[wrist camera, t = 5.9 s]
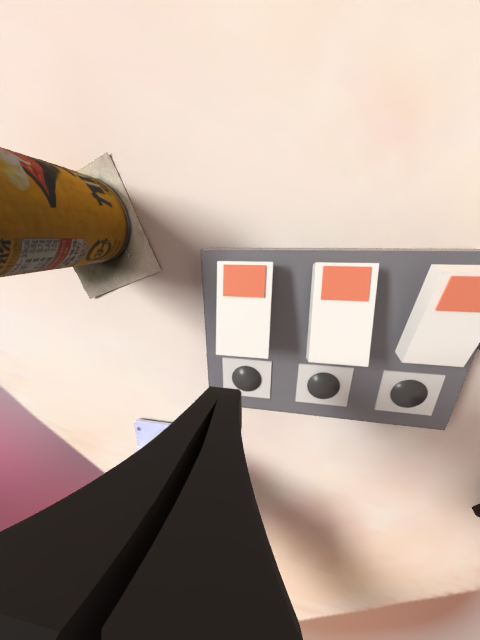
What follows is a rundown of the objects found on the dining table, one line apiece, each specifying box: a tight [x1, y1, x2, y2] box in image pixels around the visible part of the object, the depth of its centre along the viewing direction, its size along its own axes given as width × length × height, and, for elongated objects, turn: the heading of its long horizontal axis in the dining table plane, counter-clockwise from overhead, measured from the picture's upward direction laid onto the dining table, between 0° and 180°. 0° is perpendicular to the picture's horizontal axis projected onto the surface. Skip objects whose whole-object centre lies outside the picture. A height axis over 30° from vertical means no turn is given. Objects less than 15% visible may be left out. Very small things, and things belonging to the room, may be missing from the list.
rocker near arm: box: [216, 261, 273, 359], centre depth 14 cm, size 6×3×1 cm, turn 0°
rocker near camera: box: [395, 264, 480, 367], centre depth 12 cm, size 6×3×1 cm, turn 0°
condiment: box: [0, 147, 161, 299], centre depth 12 cm, size 7×8×12 cm
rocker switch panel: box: [201, 248, 480, 430], centre depth 16 cm, size 12×26×3 cm, turn 90°
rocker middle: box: [306, 262, 379, 367], centre depth 13 cm, size 6×3×1 cm, turn 0°
